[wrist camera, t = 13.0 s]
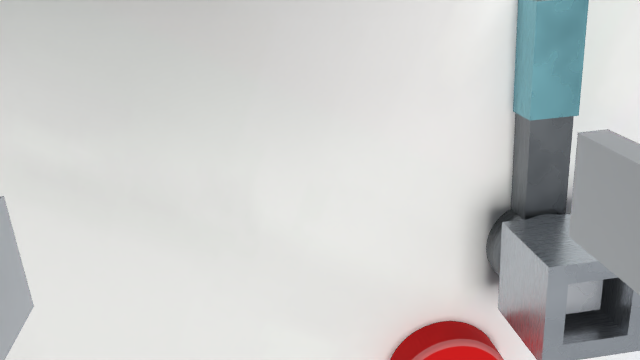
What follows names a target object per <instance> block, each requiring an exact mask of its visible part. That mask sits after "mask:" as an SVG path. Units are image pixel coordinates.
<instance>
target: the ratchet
mask: <svg viewBox="0 0 640 360" xmlns="http://www.w3.org/2000/svg"><path fill="white" fill-rule="evenodd" d="M588 1H589V0H518V18H517V39H516V60H515V81H514V102H513V112H515V113H516V114H515V134H514V155H513V175H512V195H511V209H510V210H509V211H507V212H506V213H504V214H503V215H502V216H501V217H500V218H499V219H498V220H497V222H496V223H495V224H494V226H493V227H492V229H491V231H490V234H489V236H488V240H487V246H486V252H487V258H488V261H489V263H490V265H491V266H492V268H493V269H494V270H495V272H496V273H497V274H498V275H499V276H500V256H501V234H502V222H507V221H515V220H523V219H531V218H539V217H547V216H556V215H564V214H565V211H566V200H567V188H568V176H569V164H570V152H571V140H572V128H573V116H578V115H579V105H580V93H581V82H582V70H583V59H584V47H585V36H586V24H587V13H588ZM602 287H603V280H596V281H589V282H582V283H574V284H568V293H567V304H566V314H571V313H578V312H585V311H592V310H599V309H600V305H601V296H602Z"/></svg>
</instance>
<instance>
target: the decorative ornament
mask: <svg viewBox="0 0 640 360" xmlns="http://www.w3.org/2000/svg"><path fill="white" fill-rule="evenodd" d="M391 360H503V358H502V357H501V355H500V354H499V352H498V351H497V349H496V348H495V346H494V345H493V343H492V342H491V341H490V339H489V338H488V337H487V335H486V334H484V333H483V332H482V331H481V330H479V329H478V328H476V327H474V326H472V325H469V324H467V323H463V322H456V321H445V322H438V323H434V324H431V325H428V326H425V327H423V328H421V329H419V330H417V331H415V332H414V333H412V334H411V335H410V336H408V337H407V338H406V339H405V340H404V341H403V342H402V343H401V344H400V345H399V346H398V348H397V349H396V350H395V352H394V354H393V355H392V357H391Z"/></svg>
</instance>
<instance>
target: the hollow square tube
mask: <svg viewBox="0 0 640 360" xmlns="http://www.w3.org/2000/svg"><path fill="white" fill-rule="evenodd" d="M570 218H571V214H564V215H556V216H547V217H539V218H531V219H523V220H515V221H507V222H502V234H501V256H500V278H499V299H498V310H499V311H500V312H501V313H502V315H503V316H504V317H505V319H506V320H507V321H508V323H509V324H510V325H511V326H512V328H513V329H514V330H515V332H516V333H517V334H518V336H519V337H520V338H521V340H522V341H523V342H524V343H525V345H526V346H527V347H528V349H529V350H530V351H531V353H532V354H533V355H534V356H535V358H536V359H537V360H580V359H587V358H594V357H600V356H607V355H613V354H620V353H627V352H633V351H640V295H639V294H638V293H636V292H635V291H634V290H633V289H632V288H630V287H629V286H628V285H627V284H625V283H624V282H623V281H622V280H621V279H619V278H618V277H617V276H616V275H615V274H613V273H612V272H611V271H610V270H609V269H607V268H606V267H605V266H604V265H603V264H601V263H600V262H599V261H598V260H597V259H595V258H594V257H593V256H592V255H590V254H589V253H588V252H587V251H586V250H584V249H583V248H582V247H581V246H580V245H578V244H577V243H576V242H575V241H574V240H572V239H571V238H570V237H569V229H570ZM596 280H603V287H602V296H601V305H600V309H599V310H592V311H585V312H578V313H571V314H566V304H567V293H568V284H574V283H582V282H589V281H596Z"/></svg>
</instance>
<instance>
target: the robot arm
mask: <svg viewBox="0 0 640 360" xmlns="http://www.w3.org/2000/svg"><path fill="white" fill-rule="evenodd" d="M569 237H570V238H571V239H572V240H574V241H575V242H576V243H577V244H578V245H580V246H581V247H582V248H583V249H584V250H586V251H587V252H588V253H589V254H590V255H592V256H593V257H594V258H595V259H597V260H598V261H599V262H600V263H601V264H603V265H604V266H605V267H606V268H607V269H609V270H610V271H611V272H612V273H613V274H615V275H616V276H617V277H618V278H619V279H621V280H622V281H623V282H624V283H625V284H627V285H628V286H629V287H630V288H632V289H633V290H634V291H635V292H636V293H638V294H639V295H640V144H638V143H636V142H634V141H632V140H630V139H627V138H625V137H623V136H621V135H619V134H617V133H614V132H612V131H610V130H608V129H607V130H598V131H589V132H580V133H578V137H577V148H576V160H575V171H574V183H573V194H572V206H571V218H570V229H569ZM33 307H34V305H33V301H32V298H31V294H30V290H29V287H28V283H27V279H26V276H25V272H24V268H23V265H22V261H21V257H20V254H19V250H18V246H17V243H16V239H15V235H14V232H13V228H12V224H11V221H10V217H9V213H8V209H7V206H6V202H5V198H4V196H2V197H0V360H5V358H6V356H7V354H8V353H9V351H10V349H11V347H12V345H13V343H14V342H15V340H16V338H17V336H18V334H19V332H20V331H21V329H22V327H23V325H24V323H25V321H26V320H27V318H28V316H29V314H30V312H31V310H32V309H33Z"/></svg>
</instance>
